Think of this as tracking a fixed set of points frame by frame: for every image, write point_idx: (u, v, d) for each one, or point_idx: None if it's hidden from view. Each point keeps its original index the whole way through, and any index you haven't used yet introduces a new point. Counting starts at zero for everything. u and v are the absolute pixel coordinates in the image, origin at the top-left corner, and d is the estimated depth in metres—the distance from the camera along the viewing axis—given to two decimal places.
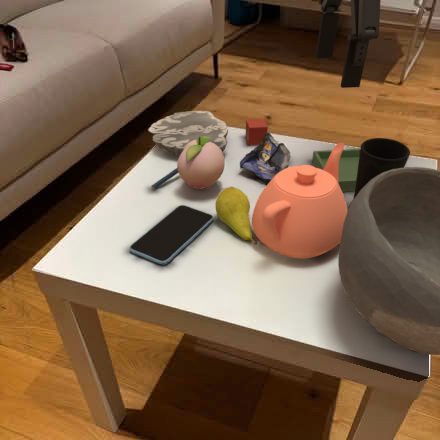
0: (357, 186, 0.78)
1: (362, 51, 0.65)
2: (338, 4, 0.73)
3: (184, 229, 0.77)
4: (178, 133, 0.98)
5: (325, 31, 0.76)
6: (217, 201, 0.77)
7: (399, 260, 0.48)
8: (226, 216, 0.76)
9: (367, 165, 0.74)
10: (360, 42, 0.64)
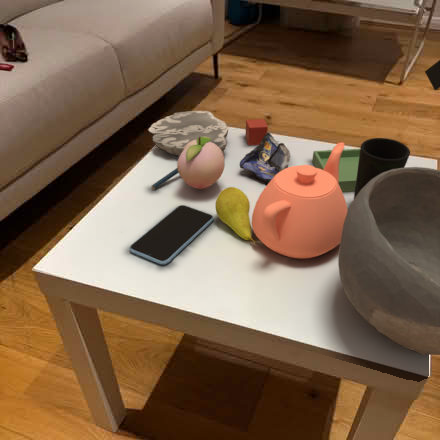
0: (357, 186, 0.78)
1: None
2: None
3: (184, 229, 0.77)
4: (178, 133, 0.98)
5: None
6: (217, 201, 0.77)
7: (399, 260, 0.48)
8: (226, 216, 0.76)
9: (367, 165, 0.74)
10: None
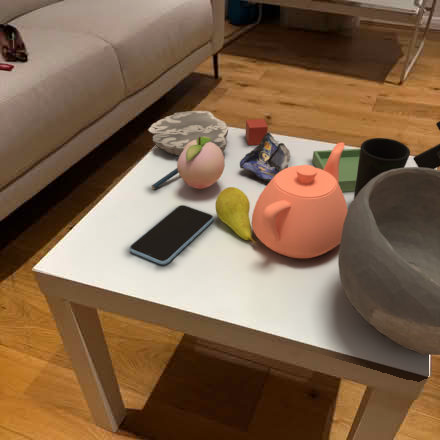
0: (357, 186, 0.78)
1: None
2: None
3: (184, 229, 0.77)
4: (178, 133, 0.98)
5: None
6: (217, 201, 0.77)
7: (399, 260, 0.48)
8: (226, 216, 0.76)
9: (367, 165, 0.74)
10: None
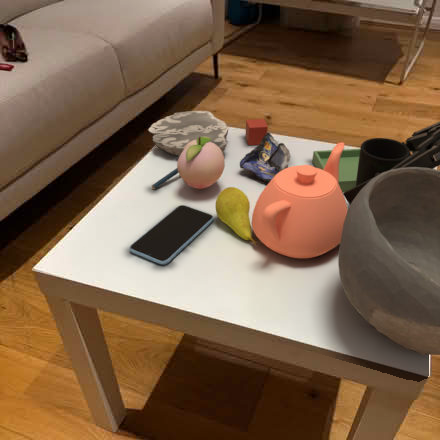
0: None
1: None
2: None
3: (184, 229, 0.77)
4: (178, 133, 0.98)
5: None
6: (217, 201, 0.77)
7: (399, 260, 0.48)
8: (226, 216, 0.76)
9: (367, 165, 0.74)
10: None
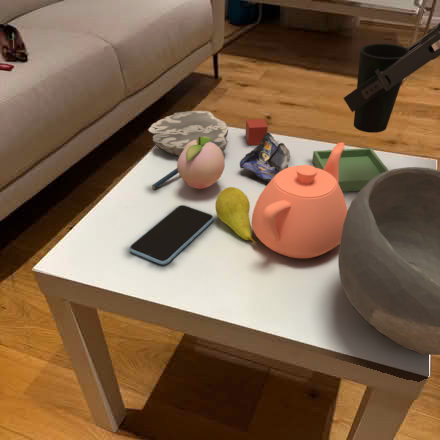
0: None
1: None
2: None
3: (184, 229, 0.77)
4: (178, 133, 0.98)
5: None
6: (217, 201, 0.77)
7: (399, 260, 0.48)
8: (226, 216, 0.76)
9: (368, 67, 0.72)
10: None
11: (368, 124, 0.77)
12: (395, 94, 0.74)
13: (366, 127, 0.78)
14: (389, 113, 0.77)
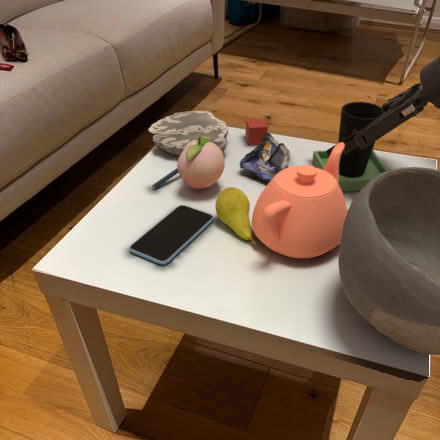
0: None
1: None
2: (365, 128, 0.79)
3: (184, 229, 0.77)
4: (178, 133, 0.98)
5: None
6: (217, 201, 0.77)
7: (399, 260, 0.48)
8: (226, 216, 0.76)
9: (348, 125, 0.82)
10: None
11: (348, 170, 0.88)
12: (371, 147, 0.85)
13: (346, 173, 0.89)
14: (366, 162, 0.88)
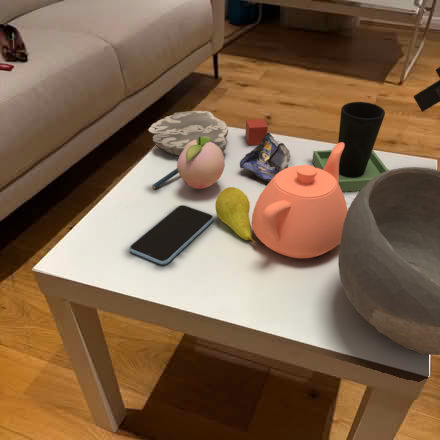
0: None
1: None
2: None
3: (184, 229, 0.77)
4: (178, 133, 0.98)
5: None
6: (217, 201, 0.77)
7: (399, 260, 0.48)
8: (226, 216, 0.76)
9: (348, 125, 0.82)
10: None
11: (348, 170, 0.88)
12: (371, 147, 0.85)
13: (346, 173, 0.89)
14: (366, 162, 0.88)
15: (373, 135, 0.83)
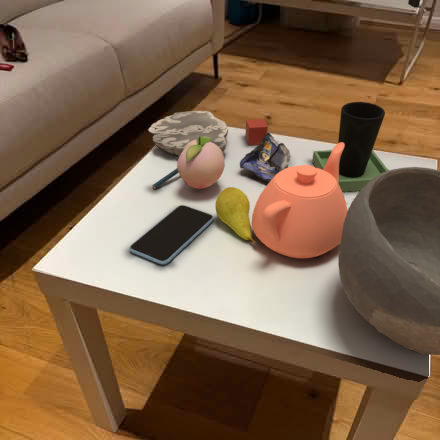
0: None
1: None
2: None
3: (184, 229, 0.77)
4: (178, 133, 0.98)
5: None
6: (217, 201, 0.77)
7: (399, 260, 0.48)
8: (226, 216, 0.76)
9: (348, 125, 0.82)
10: None
11: (348, 170, 0.88)
12: (371, 147, 0.85)
13: (346, 173, 0.89)
14: (366, 162, 0.88)
15: (373, 135, 0.83)
